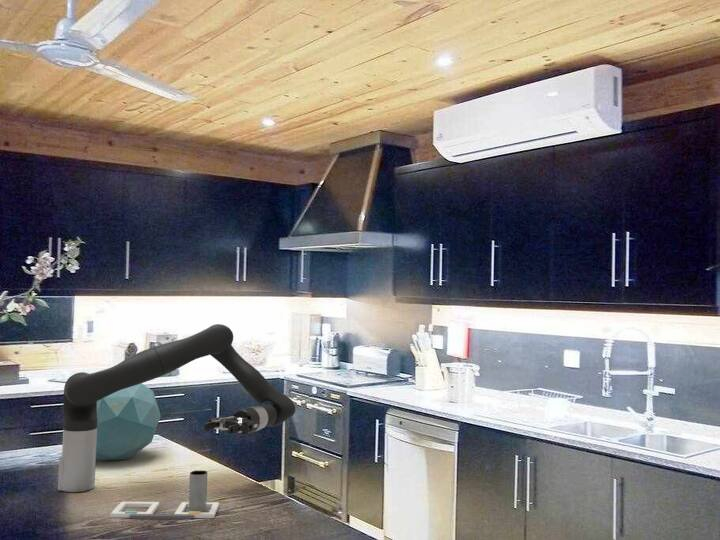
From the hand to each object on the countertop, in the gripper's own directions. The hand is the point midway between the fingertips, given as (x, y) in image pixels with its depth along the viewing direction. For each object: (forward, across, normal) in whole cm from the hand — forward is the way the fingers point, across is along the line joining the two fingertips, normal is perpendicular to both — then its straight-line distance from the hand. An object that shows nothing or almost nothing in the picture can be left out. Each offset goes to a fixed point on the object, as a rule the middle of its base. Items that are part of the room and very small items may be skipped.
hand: (217, 428), depth 191 cm
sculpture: (-18, -58, +19) cm, 64 cm away
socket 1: (+20, -10, +19) cm, 30 cm away
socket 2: (+12, +4, +19) cm, 23 cm away
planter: (+12, +4, +20) cm, 23 cm away
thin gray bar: (+21, -1, +19) cm, 28 cm away
